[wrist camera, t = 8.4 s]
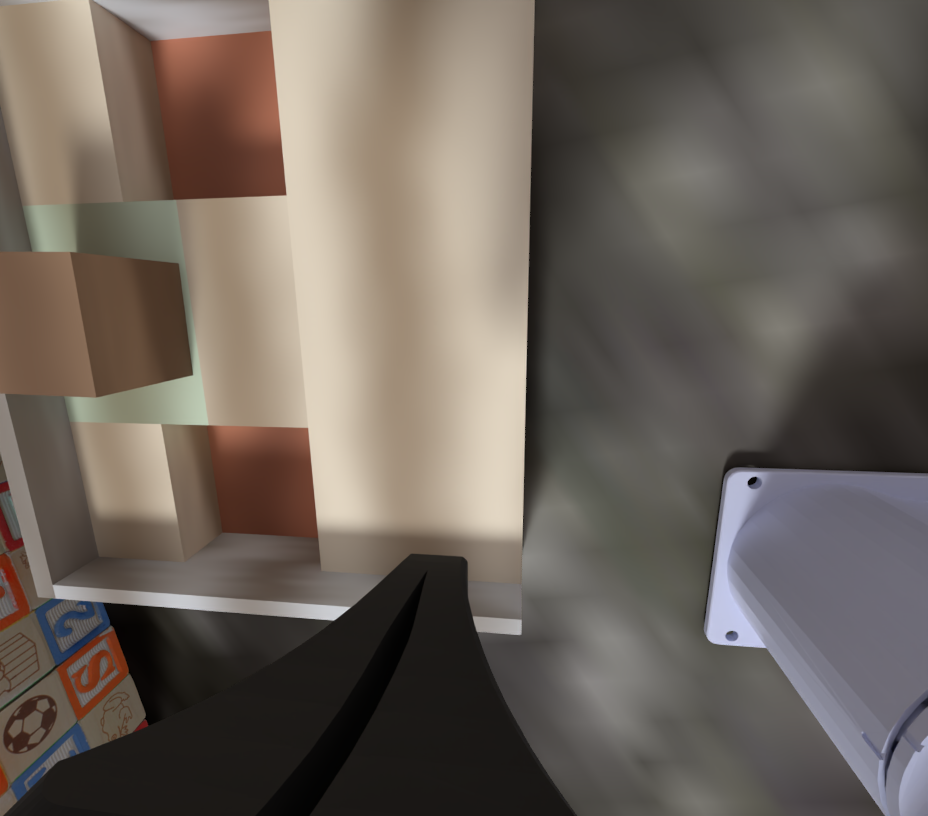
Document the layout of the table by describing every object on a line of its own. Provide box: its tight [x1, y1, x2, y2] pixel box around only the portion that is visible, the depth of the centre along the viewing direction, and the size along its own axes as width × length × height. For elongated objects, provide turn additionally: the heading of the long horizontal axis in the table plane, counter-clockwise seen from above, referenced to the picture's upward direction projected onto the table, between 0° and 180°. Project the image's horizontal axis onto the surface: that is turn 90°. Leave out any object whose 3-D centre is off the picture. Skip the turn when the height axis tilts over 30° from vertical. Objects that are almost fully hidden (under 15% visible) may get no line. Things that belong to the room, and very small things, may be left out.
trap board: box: [0, 0, 535, 635], centre depth 17 cm, size 19×21×5 cm
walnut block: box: [0, 252, 193, 398], centre depth 15 cm, size 4×4×4 cm
